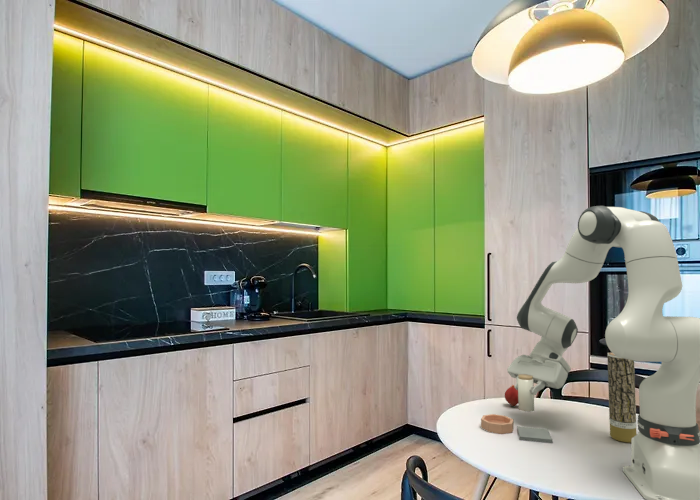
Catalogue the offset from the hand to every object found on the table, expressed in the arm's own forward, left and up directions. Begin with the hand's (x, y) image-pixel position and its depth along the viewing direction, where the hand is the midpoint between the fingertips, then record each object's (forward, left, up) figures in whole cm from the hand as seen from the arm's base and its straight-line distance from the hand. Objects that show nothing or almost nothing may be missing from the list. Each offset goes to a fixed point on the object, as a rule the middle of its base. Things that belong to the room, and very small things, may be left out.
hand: (524, 391), depth 143 cm
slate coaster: (-9, -3, -11) cm, 14 cm away
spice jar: (0, 0, -6) cm, 6 cm away
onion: (+19, +6, -11) cm, 23 cm away
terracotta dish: (-7, +8, -11) cm, 15 cm away
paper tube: (0, -27, -11) cm, 29 cm away
